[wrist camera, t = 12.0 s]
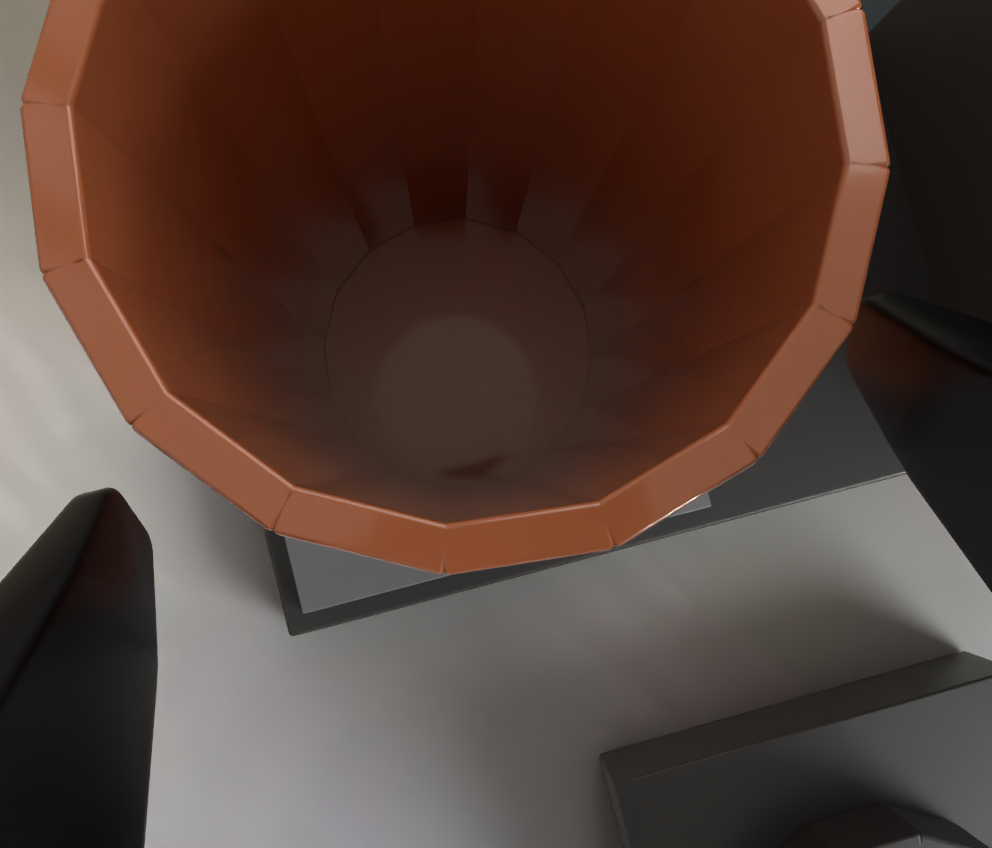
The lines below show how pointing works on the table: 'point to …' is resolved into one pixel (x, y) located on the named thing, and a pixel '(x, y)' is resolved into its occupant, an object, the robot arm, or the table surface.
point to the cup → (457, 250)
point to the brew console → (823, 769)
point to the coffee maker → (834, 396)
